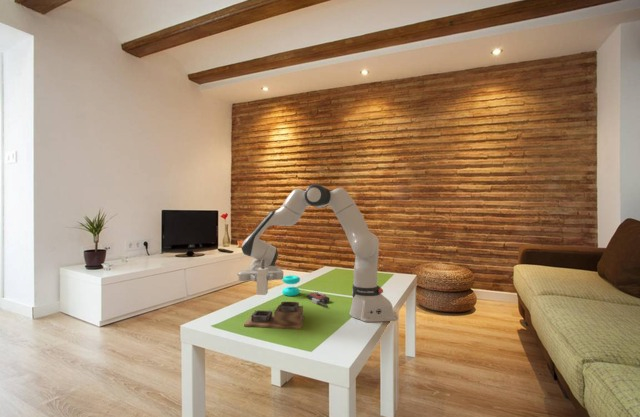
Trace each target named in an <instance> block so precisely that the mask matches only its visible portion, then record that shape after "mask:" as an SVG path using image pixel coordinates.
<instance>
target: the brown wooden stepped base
mask: <svg viewBox="0 0 640 417" xmlns="http://www.w3.org/2000/svg"><path fill="white" fill-rule="evenodd" d="M304 320H305V315H304V305H300V302H297V301H282V302H280V304H278V306H277V307H276V309H274V313H273V311H272V310H255V311H254V312H253V313H252V314H251V315H250V316H249V317H248V319H246V321H245V322H244V324H243V326H244V327H246V328H247V327H250V328H251V327H252V328H253V327H254V328H268V329H269V328H273V329H274V328H275V329H294V330H301V329H302V326H303V322H304Z"/></svg>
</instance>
